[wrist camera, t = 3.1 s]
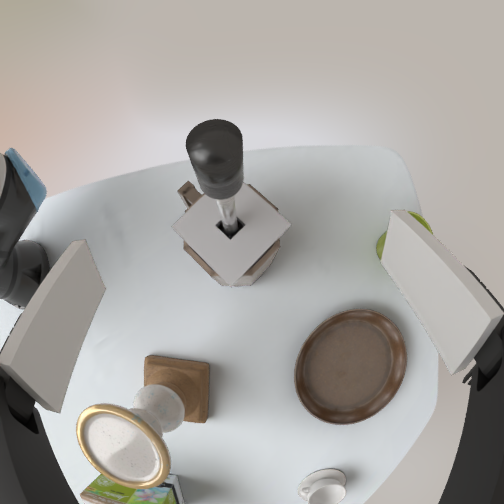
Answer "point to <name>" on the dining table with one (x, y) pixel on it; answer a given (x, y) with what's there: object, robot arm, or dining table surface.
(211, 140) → the plunger
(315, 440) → the dining table surface
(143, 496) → the tea box
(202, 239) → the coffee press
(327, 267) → the dining table surface
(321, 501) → the teacup
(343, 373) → the plant saucer
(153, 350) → the dining table surface
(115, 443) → the candle holder
